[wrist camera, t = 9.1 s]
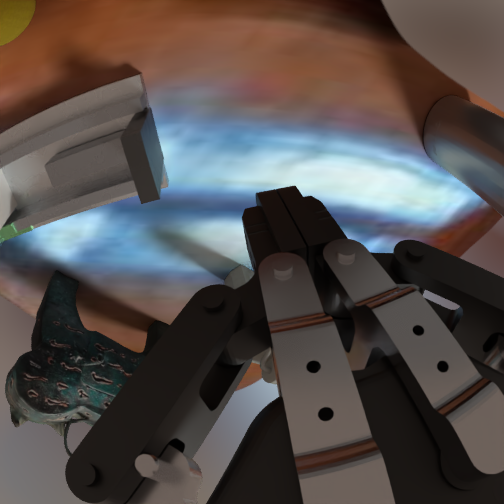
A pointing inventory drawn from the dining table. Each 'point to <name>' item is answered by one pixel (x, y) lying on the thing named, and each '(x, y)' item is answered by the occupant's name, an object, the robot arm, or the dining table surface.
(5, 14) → the lemon
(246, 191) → the dining table surface
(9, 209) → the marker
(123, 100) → the grey open box
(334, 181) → the dining table surface
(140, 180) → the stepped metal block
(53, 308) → the green animal figurine
